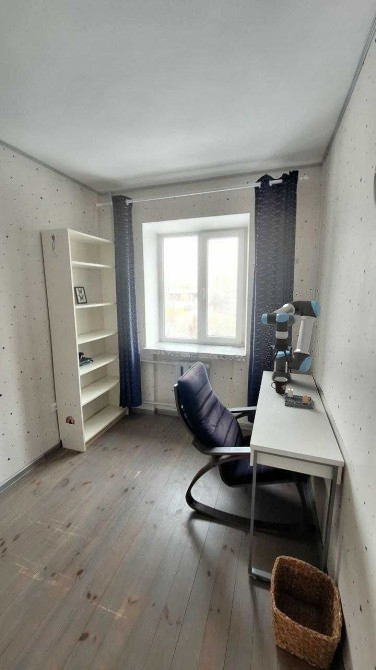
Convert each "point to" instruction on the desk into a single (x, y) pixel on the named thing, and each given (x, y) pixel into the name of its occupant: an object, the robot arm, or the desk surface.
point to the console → (297, 401)
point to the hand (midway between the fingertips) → (280, 371)
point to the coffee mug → (280, 385)
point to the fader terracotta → (305, 398)
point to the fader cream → (290, 392)
